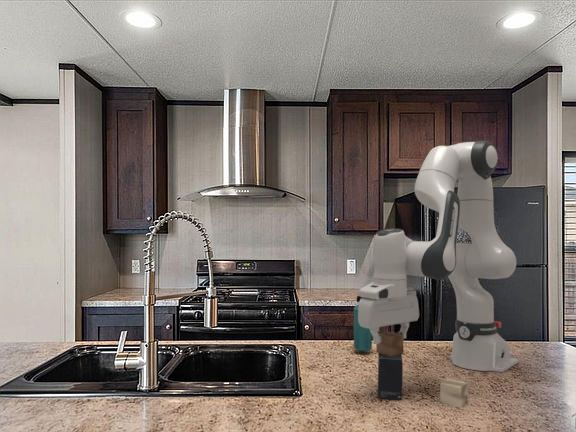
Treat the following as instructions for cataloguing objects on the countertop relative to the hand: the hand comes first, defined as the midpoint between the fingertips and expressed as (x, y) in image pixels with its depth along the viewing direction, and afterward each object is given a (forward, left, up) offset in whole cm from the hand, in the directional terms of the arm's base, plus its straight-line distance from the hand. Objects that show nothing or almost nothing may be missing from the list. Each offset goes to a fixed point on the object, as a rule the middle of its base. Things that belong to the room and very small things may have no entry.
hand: (390, 341), depth 122 cm
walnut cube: (0, 0, -3) cm, 3 cm away
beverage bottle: (-22, -33, -14) cm, 42 cm away
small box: (0, 0, -14) cm, 14 cm away
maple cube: (-8, +14, -14) cm, 21 cm away
